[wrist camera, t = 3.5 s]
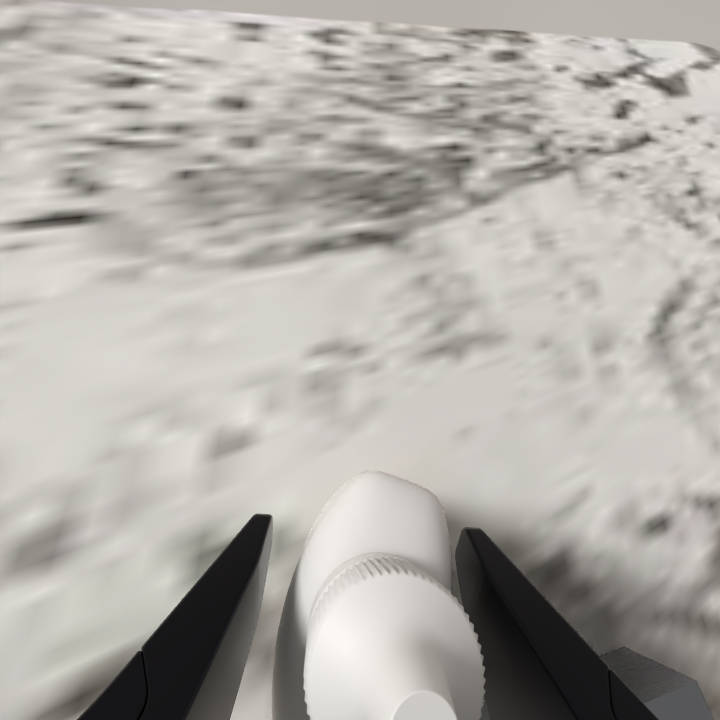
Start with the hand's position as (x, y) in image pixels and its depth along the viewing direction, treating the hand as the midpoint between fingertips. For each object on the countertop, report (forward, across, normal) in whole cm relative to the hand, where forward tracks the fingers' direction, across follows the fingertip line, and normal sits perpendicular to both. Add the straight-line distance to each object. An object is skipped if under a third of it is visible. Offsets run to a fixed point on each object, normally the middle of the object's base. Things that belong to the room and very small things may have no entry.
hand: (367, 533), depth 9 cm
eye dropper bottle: (+4, 0, +6) cm, 7 cm away
